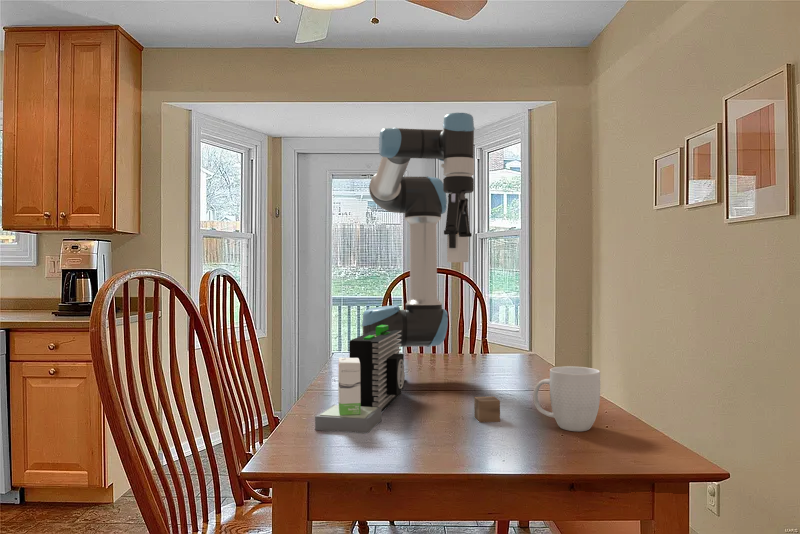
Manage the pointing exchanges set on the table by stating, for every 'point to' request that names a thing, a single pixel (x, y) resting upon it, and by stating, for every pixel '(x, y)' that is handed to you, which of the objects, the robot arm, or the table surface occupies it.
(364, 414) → the stand
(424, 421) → the table surface
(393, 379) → the electronic device
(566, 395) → the mug
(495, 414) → the walnut block
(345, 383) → the ink box
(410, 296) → the robot arm
